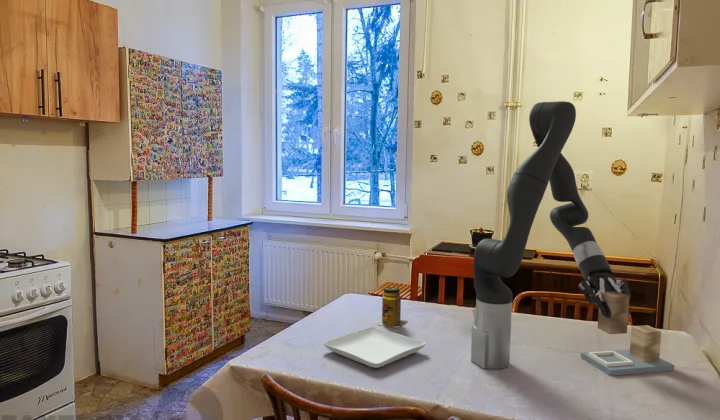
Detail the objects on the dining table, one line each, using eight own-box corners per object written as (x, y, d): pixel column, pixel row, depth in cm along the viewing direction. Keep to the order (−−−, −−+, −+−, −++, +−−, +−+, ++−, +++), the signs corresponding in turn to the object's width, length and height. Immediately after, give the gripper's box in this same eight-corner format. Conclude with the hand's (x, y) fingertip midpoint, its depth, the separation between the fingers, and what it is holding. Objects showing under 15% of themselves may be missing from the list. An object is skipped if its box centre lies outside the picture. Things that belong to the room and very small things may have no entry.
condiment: (377, 325, 168) (377, 289, 166) (387, 318, 175) (388, 283, 174) (397, 328, 164) (398, 292, 163) (407, 321, 172) (408, 286, 170)
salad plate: (320, 353, 143) (320, 341, 143) (372, 335, 158) (372, 324, 158) (376, 376, 129) (376, 363, 128) (427, 354, 144) (427, 342, 143)
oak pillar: (643, 361, 136) (645, 332, 135) (629, 354, 141) (631, 326, 140) (659, 360, 137) (661, 331, 136) (645, 353, 142) (647, 325, 141)
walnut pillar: (610, 334, 133) (612, 296, 132) (597, 328, 138) (599, 291, 137) (626, 333, 134) (629, 295, 133) (613, 326, 139) (616, 290, 138)
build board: (610, 375, 130) (610, 367, 130) (580, 357, 142) (581, 349, 142) (674, 370, 134) (674, 362, 134) (640, 353, 146) (641, 345, 145)
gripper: (574, 254, 140) (601, 310, 130) (620, 253, 143) (650, 307, 132) (562, 269, 146) (586, 323, 135) (607, 267, 149) (634, 321, 138)
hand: (618, 315), depth 134 cm, fingers closed on walnut pillar, 5 cm apart
